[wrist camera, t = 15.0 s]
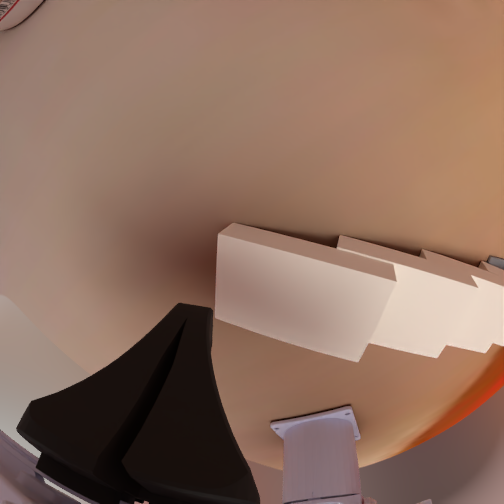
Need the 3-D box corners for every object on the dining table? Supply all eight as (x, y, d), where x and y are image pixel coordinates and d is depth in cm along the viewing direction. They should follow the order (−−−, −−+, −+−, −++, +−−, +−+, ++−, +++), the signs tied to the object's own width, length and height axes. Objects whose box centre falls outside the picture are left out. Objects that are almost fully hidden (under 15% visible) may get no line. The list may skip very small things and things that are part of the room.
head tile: (214, 317, 14) (358, 362, 12) (217, 233, 12) (397, 281, 10) (227, 302, 16) (360, 342, 14) (233, 222, 13) (393, 264, 11)
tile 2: (313, 327, 14) (437, 358, 12) (337, 246, 12) (478, 287, 10) (318, 311, 16) (433, 340, 13) (339, 234, 13) (469, 273, 11)
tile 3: (394, 331, 14) (485, 353, 12) (427, 260, 12) (522, 293, 10) (393, 316, 16) (480, 338, 13) (421, 248, 13) (513, 280, 11)
